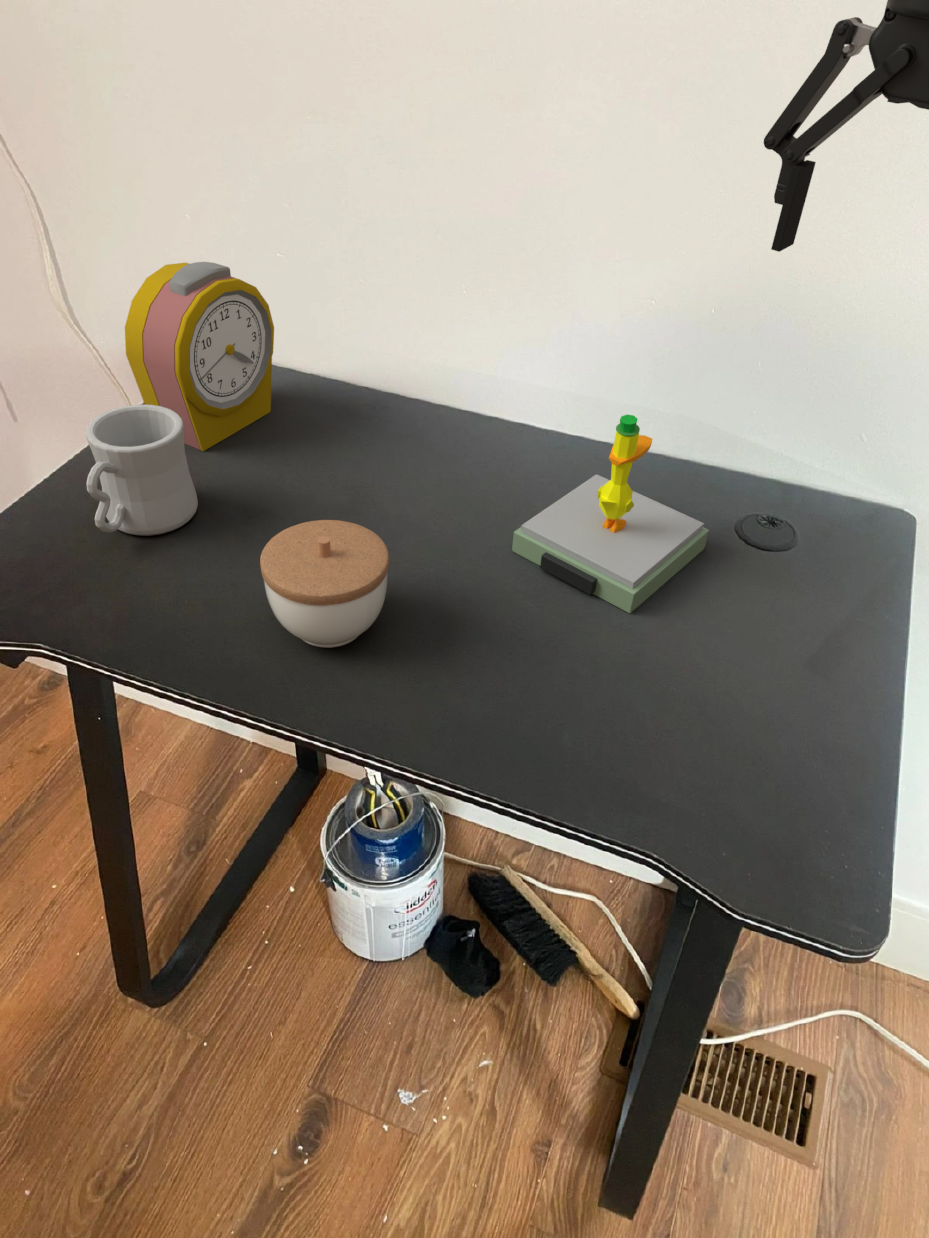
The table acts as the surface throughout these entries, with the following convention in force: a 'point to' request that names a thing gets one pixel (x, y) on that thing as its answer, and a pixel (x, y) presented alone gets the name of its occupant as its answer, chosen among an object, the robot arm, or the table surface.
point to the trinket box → (325, 580)
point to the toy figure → (622, 472)
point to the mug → (140, 470)
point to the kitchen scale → (610, 545)
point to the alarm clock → (202, 349)
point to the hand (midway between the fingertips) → (859, 269)
